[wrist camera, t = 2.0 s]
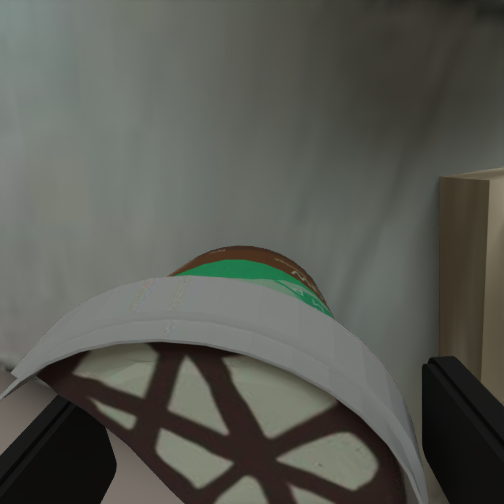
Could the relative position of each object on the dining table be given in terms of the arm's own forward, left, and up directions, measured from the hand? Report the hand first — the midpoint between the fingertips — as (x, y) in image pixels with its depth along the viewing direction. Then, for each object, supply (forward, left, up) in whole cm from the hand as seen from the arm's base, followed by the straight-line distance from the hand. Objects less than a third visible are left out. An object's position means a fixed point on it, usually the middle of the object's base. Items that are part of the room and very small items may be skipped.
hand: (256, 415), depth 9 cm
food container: (-1, 0, -8) cm, 8 cm away
